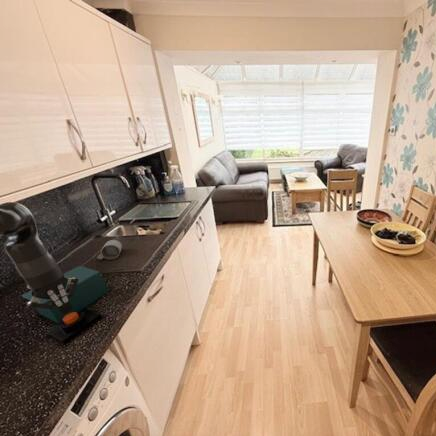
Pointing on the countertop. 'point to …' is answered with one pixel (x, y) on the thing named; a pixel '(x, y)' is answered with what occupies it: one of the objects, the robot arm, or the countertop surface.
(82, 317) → the panel
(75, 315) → the button
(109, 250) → the ceramic mug
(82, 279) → the bin lid
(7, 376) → the countertop surface
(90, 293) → the bin
